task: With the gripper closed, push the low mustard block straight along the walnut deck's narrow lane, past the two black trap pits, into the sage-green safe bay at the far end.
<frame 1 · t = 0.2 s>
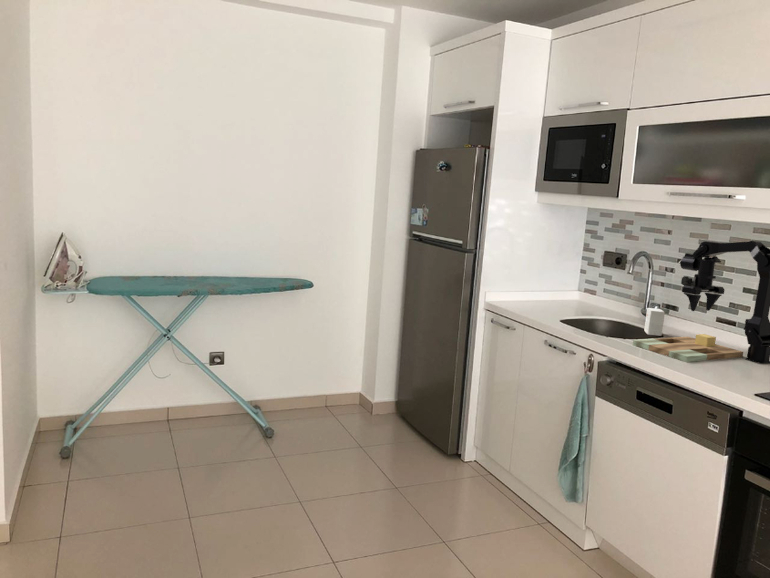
hand: (700, 310, 254), 14 cm above the worktop, fingers open, 9 cm apart
small box: (652, 334, 269), on the worktop
mustard block: (704, 344, 245), point 2 cm above the worktop, touching trap deck
trap deck: (690, 350, 242), on the worktop
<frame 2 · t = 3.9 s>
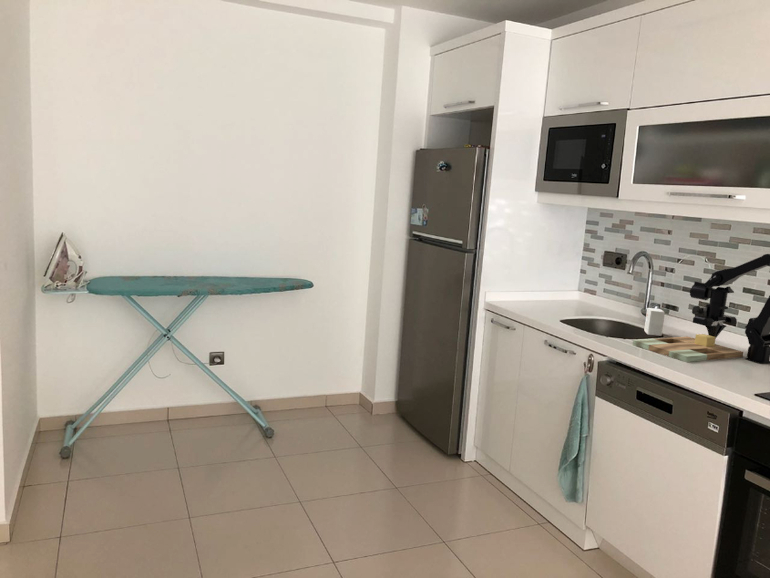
hand: (711, 341, 247), 3 cm above the worktop, fingers closed
mustard block: (704, 344, 245), point 2 cm above the worktop, touching gripper
everything else where it was.
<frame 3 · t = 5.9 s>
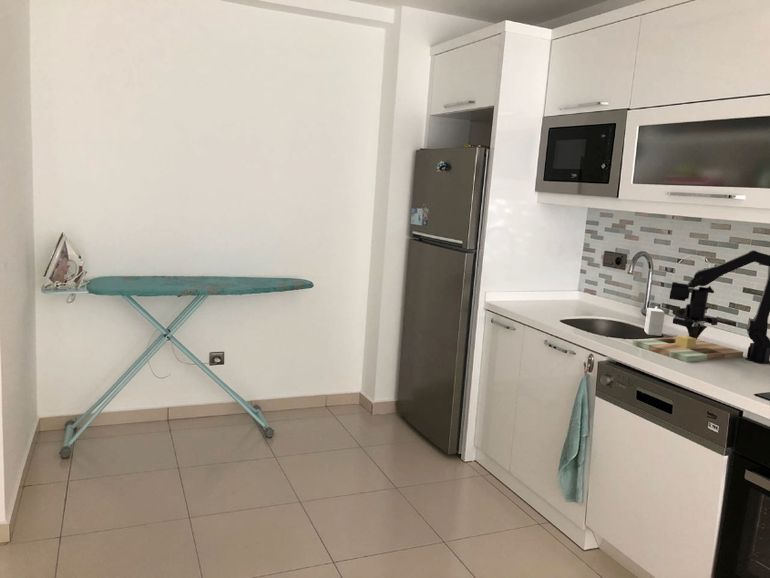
hand: (692, 342, 241), 3 cm above the worktop, fingers closed
mustard block: (684, 346, 240), point 2 cm above the worktop, touching gripper
everything else where it was.
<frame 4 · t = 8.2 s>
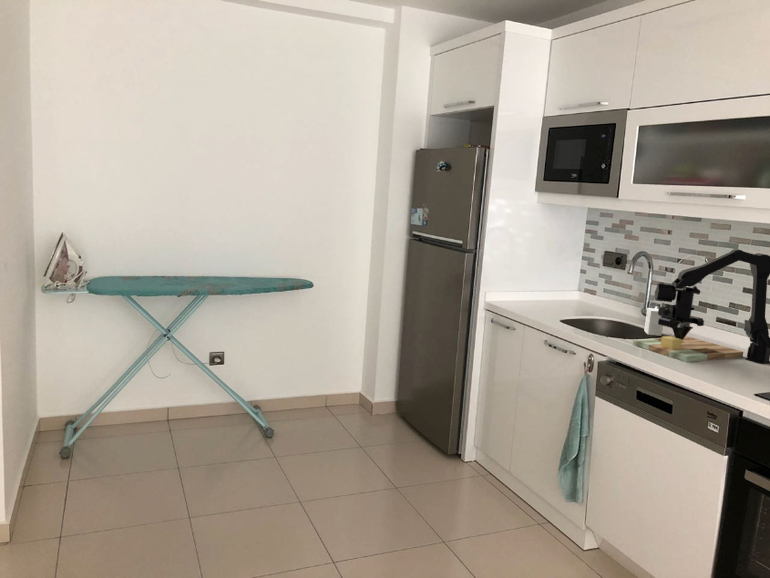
hand: (677, 343, 238), 3 cm above the worktop, fingers closed
mustard block: (670, 347, 236), point 2 cm above the worktop, touching gripper, trap deck
everything else where it was.
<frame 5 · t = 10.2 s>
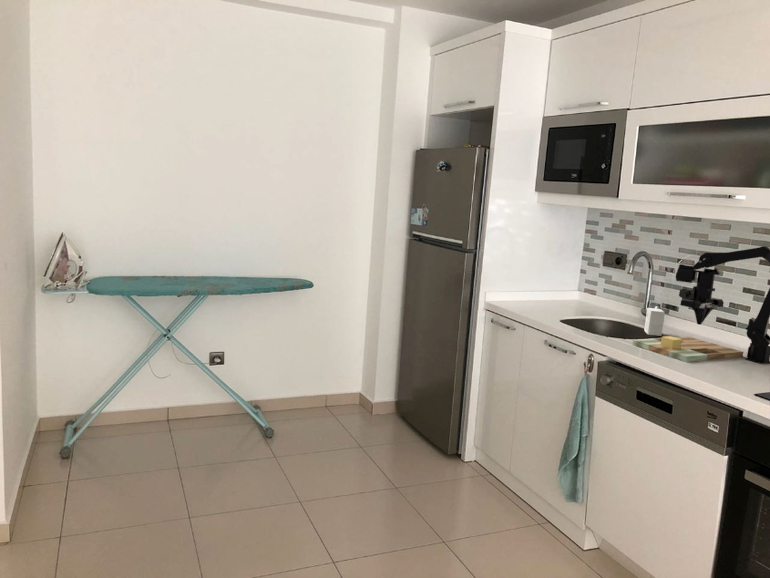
hand: (699, 324, 244), 10 cm above the worktop, fingers closed
mustard block: (670, 347, 236), point 2 cm above the worktop, touching trap deck
everything else where it was.
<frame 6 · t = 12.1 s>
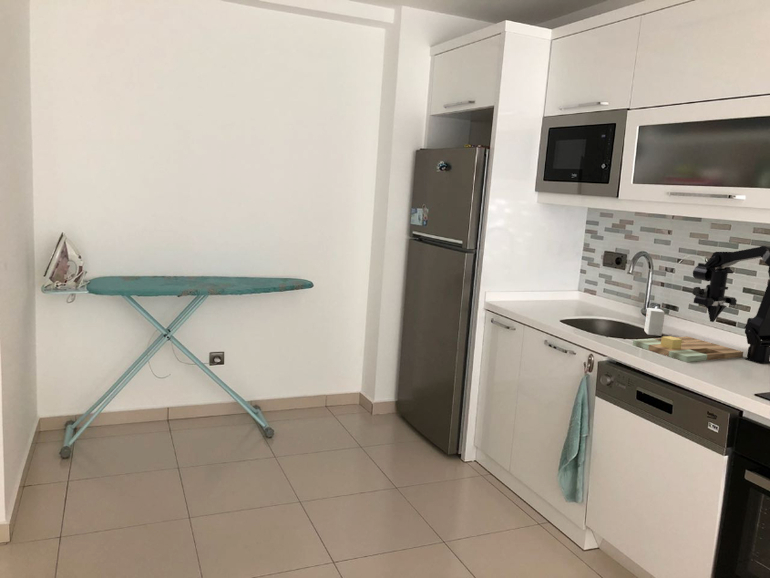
hand: (711, 321, 251), 10 cm above the worktop, fingers closed
nothing on the worktop moved.
at the end: mustard block inside the target area (1.0 cm from its centre), point 2.0 cm above the worktop; mustard block tilted 0° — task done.
